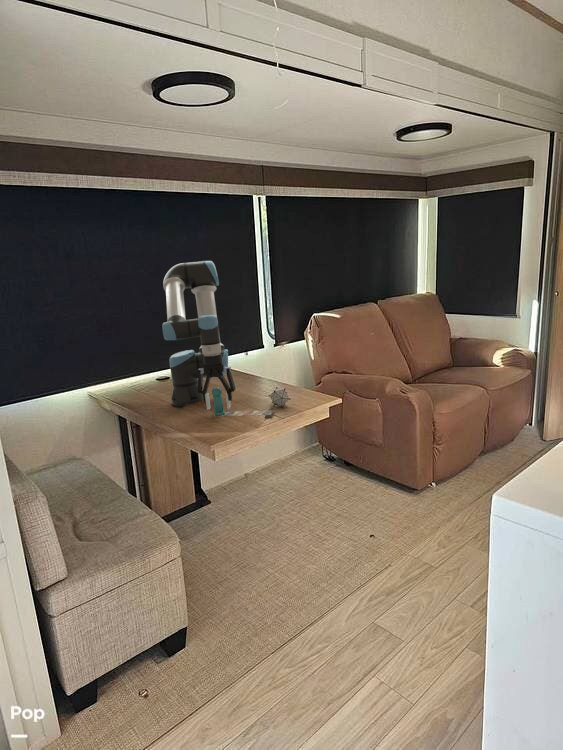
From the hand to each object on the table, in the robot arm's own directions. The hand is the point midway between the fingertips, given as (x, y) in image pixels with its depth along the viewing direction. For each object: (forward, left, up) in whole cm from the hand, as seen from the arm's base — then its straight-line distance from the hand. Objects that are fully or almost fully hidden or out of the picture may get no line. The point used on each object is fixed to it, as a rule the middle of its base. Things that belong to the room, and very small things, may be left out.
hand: (219, 408), depth 204 cm
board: (+10, 0, -4) cm, 11 cm away
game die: (+23, +12, -4) cm, 26 cm away
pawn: (0, 0, -2) cm, 2 cm away
